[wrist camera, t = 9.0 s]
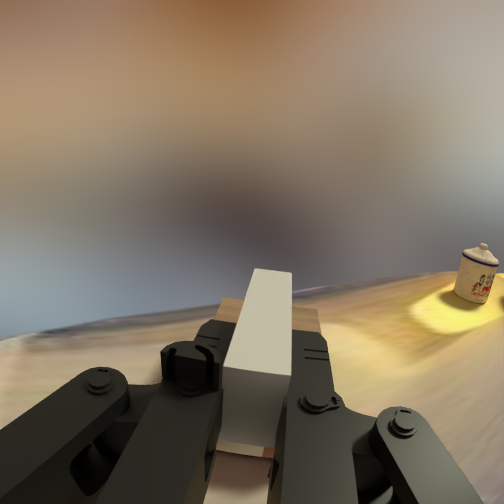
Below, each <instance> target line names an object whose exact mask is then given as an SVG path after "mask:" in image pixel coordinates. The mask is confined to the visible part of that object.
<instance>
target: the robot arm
mask: <svg viewBox="0 0 504 504" xmlns="http://www.w3.org/2000/svg"><path fill="white" fill-rule="evenodd" d="M160 353H161V366H162V378H163V380H162V382H161V383H159V384H154V385H131V384H128V382H127V380H126V378H125V376H124V375H123V374H122V373H121V372H119V371H118V370H115V369H112V368H109V367H96V368H91V369H88V370H86V371H84V372H82V373H80V374H79V375H77V376H76V377H75V378H73V379H72V380H70V381H69V382H68V383H66V384H65V385H63V386H62V387H60V388H59V389H58V390H56V391H55V392H53V393H52V394H51V395H49V396H48V397H46V398H45V399H43V400H42V401H41V402H39V403H38V404H36V405H35V406H33V407H32V408H31V409H29V410H28V411H26V412H25V413H24V414H22V415H21V416H19V417H18V418H16V419H15V420H14V421H12V422H11V423H9V424H8V425H7V426H5V427H4V428H2V429H1V430H0V504H203V502H204V498H205V495H206V491H207V487H208V484H209V480H210V476H211V472H212V469H213V465H214V461H215V457H216V445H217V441H218V437H219V440H221V441H227V442H233V443H239V444H246V445H253V446H261V447H270V448H274V446H275V450H274V456H273V459H272V463H271V467H270V470H269V474H268V477H269V478H270V480H269V489H268V498H267V504H484V503H483V501H482V500H481V498H480V497H479V495H478V494H477V492H476V491H475V489H474V488H473V486H472V485H471V483H470V482H469V481H468V479H467V478H466V476H465V475H464V473H463V472H462V470H461V469H460V467H459V466H458V465H457V463H456V462H455V460H454V459H453V457H452V456H451V454H450V453H449V452H448V450H447V449H446V447H445V446H444V445H443V443H442V442H441V440H440V439H439V438H438V436H437V435H436V433H435V432H434V431H433V429H432V428H431V426H430V425H429V424H428V422H427V421H426V420H425V419H424V418H423V417H422V416H421V415H420V414H419V413H418V412H416V411H414V410H412V409H410V408H405V407H401V406H400V407H390V408H387V409H385V410H383V411H382V412H381V413H380V414H379V415H378V417H377V418H375V417H371V416H367V415H364V414H360V413H357V412H354V411H352V410H350V409H348V408H347V407H345V404H344V402H343V400H342V398H341V397H340V396H339V395H338V394H337V393H336V392H335V391H334V384H333V378H332V371H331V365H330V361H329V353H328V347H327V341H326V340H325V339H324V338H323V336H322V335H321V334H320V333H319V332H313V331H303V330H294V329H292V273H287V272H279V271H272V270H264V269H255V270H254V273H253V276H252V279H251V282H250V285H249V288H248V291H247V294H246V298H245V301H244V304H243V307H242V310H241V313H240V316H239V319H238V322H237V323H233V322H226V321H220V320H213V319H211V320H209V321H208V322H206V323H205V324H203V325H202V326H201V327H200V329H199V331H198V333H197V336H196V337H195V339H194V341H180V342H175V343H172V344H170V345H167V346H166V347H165V348H164V349H163V350H162V351H160Z"/></svg>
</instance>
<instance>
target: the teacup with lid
mask: <svg viewBox="0 0 504 504" xmlns="http://www.w3.org/2000/svg"><path fill="white" fill-rule="evenodd" d="M487 249H488V246H487V245H486V244H483V243H481V244H480V248H479V247H476V248H473V249H467V250H464V252H463V257H462V261H461V266H460V269H459V273H458V276H457V280H456V283H455V287H454V292H455V293H456V294H457V295H458V296H459V297H461V298H463V299H465V300H467V301H470V302H474V303H485V302H486V301H487V299H488V295H489V292H490V289H491V286H492V283H493V279H494V276H495V273H496V269H497V267H498V265H499V264H498V260H497V259H496V258H494V257H493V255H492V254H491V252H490V251H488V250H487Z"/></svg>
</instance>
